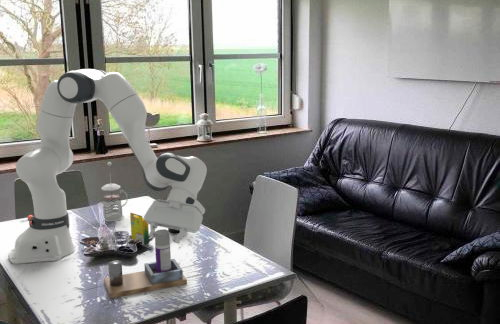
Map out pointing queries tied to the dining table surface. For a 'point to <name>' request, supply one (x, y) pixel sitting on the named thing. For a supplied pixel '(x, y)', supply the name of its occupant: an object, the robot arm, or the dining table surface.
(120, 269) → the metal post
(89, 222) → the dining table surface
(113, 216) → the french press
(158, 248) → the container
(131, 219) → the crayon box
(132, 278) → the wooden board
